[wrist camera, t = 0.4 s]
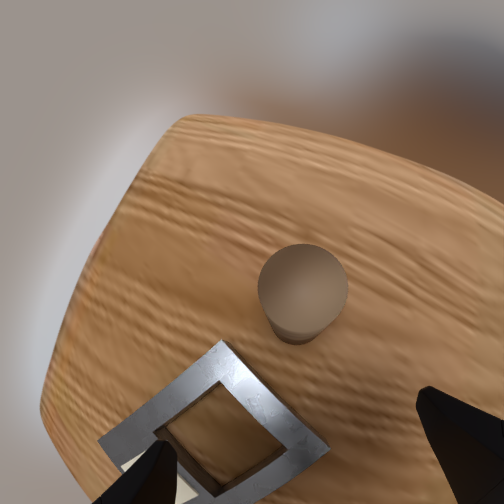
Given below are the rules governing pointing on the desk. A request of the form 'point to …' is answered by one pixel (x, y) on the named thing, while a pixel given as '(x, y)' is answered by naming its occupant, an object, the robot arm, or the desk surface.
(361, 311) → the desk surface
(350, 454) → the desk surface
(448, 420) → the robot arm
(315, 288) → the walnut peg
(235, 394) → the hole plate
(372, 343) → the desk surface
